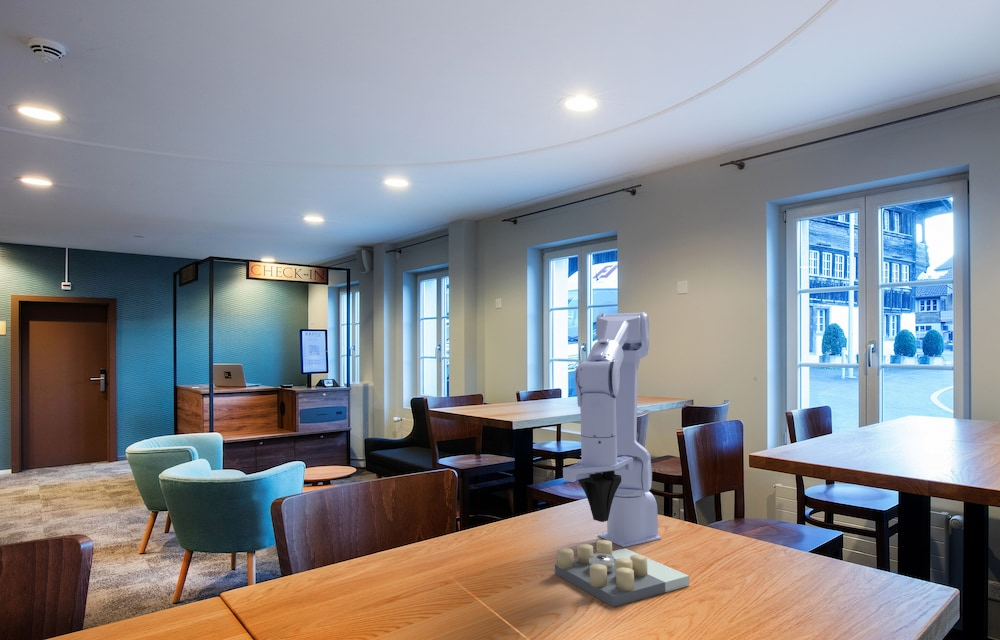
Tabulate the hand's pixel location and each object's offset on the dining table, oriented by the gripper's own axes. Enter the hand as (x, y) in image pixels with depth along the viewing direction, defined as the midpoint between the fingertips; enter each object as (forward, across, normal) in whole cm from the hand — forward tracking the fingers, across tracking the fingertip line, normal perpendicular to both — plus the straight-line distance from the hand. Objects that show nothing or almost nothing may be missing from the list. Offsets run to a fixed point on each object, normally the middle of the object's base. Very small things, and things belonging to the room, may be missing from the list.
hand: (600, 520), depth 98 cm
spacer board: (+9, -2, +2) cm, 10 cm away
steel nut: (+8, 0, 0) cm, 8 cm away
